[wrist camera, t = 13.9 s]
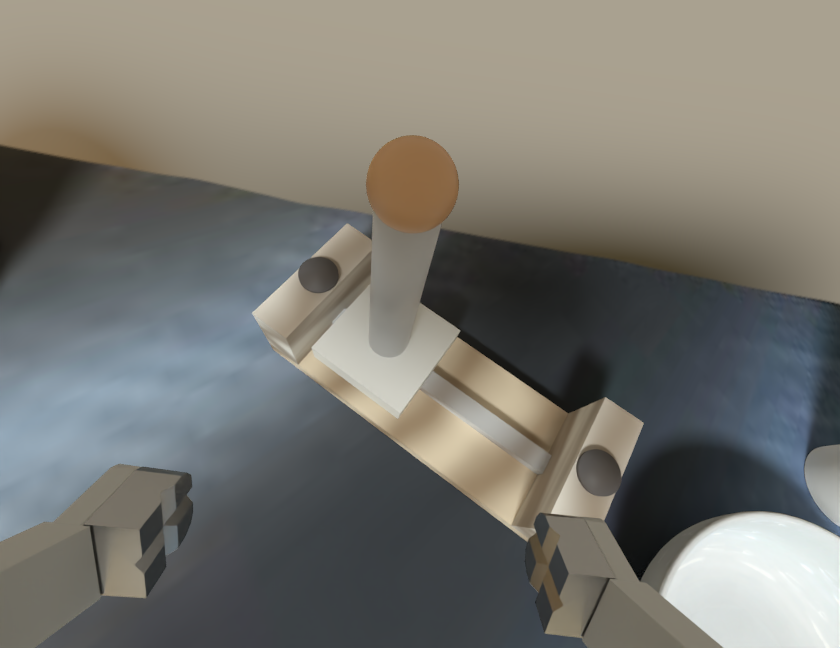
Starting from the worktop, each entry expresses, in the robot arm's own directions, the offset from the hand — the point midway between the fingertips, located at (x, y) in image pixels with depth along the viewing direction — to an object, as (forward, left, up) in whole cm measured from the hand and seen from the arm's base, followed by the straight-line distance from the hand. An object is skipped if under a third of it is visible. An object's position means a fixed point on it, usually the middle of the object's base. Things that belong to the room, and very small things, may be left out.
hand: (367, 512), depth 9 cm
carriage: (-6, +10, -19) cm, 22 cm away
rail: (-1, +10, -22) cm, 24 cm away
